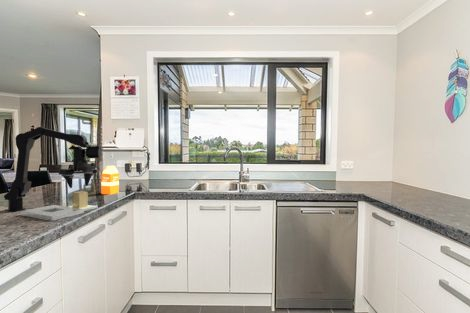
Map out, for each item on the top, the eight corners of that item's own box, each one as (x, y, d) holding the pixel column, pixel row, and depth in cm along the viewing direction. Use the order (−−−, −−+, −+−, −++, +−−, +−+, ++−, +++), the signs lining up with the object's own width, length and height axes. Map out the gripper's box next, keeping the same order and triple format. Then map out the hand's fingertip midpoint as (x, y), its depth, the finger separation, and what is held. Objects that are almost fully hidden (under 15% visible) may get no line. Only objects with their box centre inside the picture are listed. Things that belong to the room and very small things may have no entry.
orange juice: (118, 192, 195) (119, 165, 194) (110, 194, 187) (110, 166, 186) (110, 191, 197) (110, 165, 197) (101, 193, 189) (101, 165, 188)
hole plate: (20, 215, 127) (20, 211, 127) (54, 208, 142) (54, 204, 142) (51, 220, 119) (51, 216, 119) (83, 213, 134) (83, 209, 134)
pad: (63, 209, 141) (63, 207, 141) (80, 205, 150) (80, 203, 150) (79, 211, 136) (79, 209, 136) (96, 207, 146) (96, 206, 146)
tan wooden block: (72, 207, 142) (72, 192, 141) (81, 205, 146) (81, 191, 146) (79, 208, 140) (79, 193, 140) (87, 206, 144) (87, 191, 144)
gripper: (73, 159, 130) (73, 190, 131) (104, 158, 148) (104, 186, 148) (58, 158, 135) (58, 188, 135) (90, 157, 152) (89, 184, 152)
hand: (79, 186), depth 143 cm, fingers open, 9 cm apart
